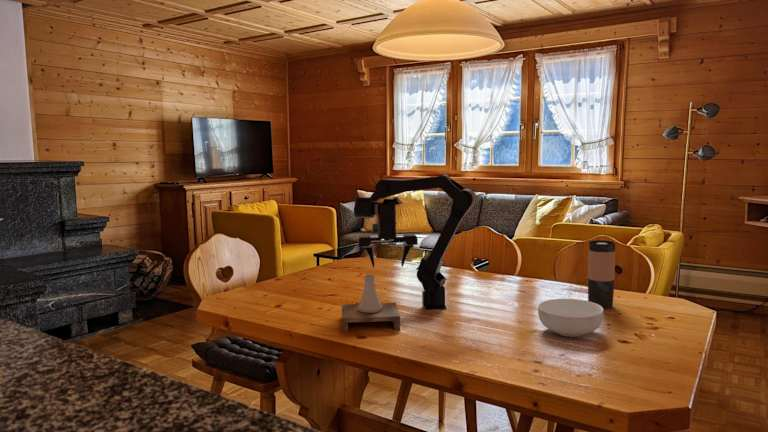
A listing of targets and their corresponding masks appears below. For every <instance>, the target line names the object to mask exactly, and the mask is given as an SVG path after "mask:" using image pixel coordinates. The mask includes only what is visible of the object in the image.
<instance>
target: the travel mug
mask: <svg viewBox="0 0 768 432" xmlns="http://www.w3.org/2000/svg"><path fill="white" fill-rule="evenodd" d="M587 263H588V264H587V265H588V268H587V270H588V271H587V291H588V292H587V301H589V302H593V303H596V304H598V305H600V306H601V307H602V308H603V310H608V309H609V310H610V309H612V308H613V306H614V293H615V292H614V291H615V273H616V272H615V269H616V265H615V263H616V242H614V241H611V240H606V239H605V240H599V239H598V240H597V239H595V240H590V241H589V242H588V261H587Z"/></svg>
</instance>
